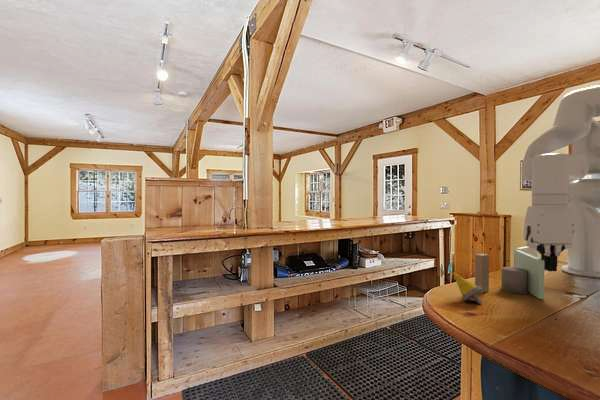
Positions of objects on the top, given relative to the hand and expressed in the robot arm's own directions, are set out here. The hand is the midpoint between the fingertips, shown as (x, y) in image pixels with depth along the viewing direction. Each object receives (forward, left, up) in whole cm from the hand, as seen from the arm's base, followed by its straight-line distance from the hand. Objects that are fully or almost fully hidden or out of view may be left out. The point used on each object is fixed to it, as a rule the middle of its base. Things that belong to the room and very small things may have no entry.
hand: (549, 269), depth 79 cm
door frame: (-2, -11, -7) cm, 13 cm away
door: (-1, -6, -7) cm, 9 cm away
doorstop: (+2, -7, -7) cm, 11 cm away
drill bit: (+21, -8, -8) cm, 24 cm away
